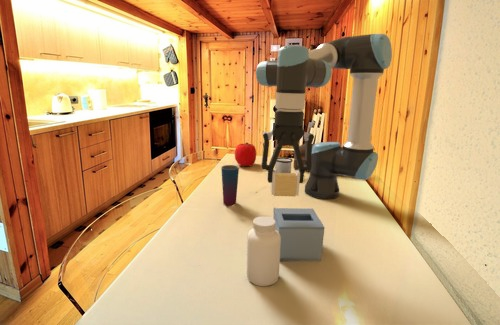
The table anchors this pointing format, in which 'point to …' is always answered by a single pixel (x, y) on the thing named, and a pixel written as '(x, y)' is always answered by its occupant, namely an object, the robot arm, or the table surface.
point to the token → (285, 184)
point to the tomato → (245, 154)
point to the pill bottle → (263, 252)
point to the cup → (229, 184)
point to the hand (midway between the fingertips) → (284, 193)
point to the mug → (283, 165)
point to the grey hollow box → (299, 234)
